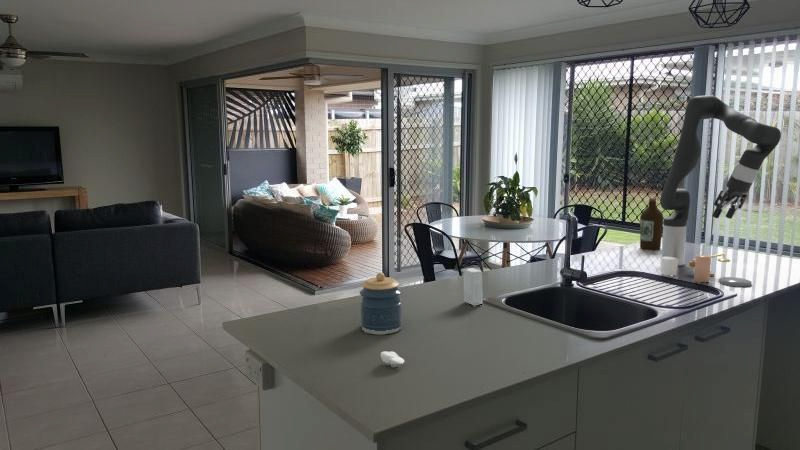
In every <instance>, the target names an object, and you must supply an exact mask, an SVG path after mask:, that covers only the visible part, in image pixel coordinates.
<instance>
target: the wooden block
mask: <svg viewBox="0 0 800 450" xmlns="http://www.w3.org/2000/svg"><path fill="white" fill-rule="evenodd" d="M711 256H712V255H708V254H707V255H705V254H697V255H695V258H694V259H695V261H694V262H695V269H694V274H693V275H694V277H693V281H694V282H695V281H697V282H696V283H698V282H709V283H710V280H711V276H710V271H711V268H712V267H711V265H712V258H711Z"/></svg>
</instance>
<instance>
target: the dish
mask: <svg viewBox="0 0 800 450" xmlns="http://www.w3.org/2000/svg"><path fill="white" fill-rule="evenodd" d="M719 282H720V283H719ZM718 283H719V284H721V283H722V284H721V285H724V284H725V285H724V286H728V285H729V286H728V287H734V286H738V287H737V288H740V287H741V288H745V287H746V288H748V287H751V286H752V281H751V280H749V279H746V278H741V277H731V276H728V277H727V276H725V277H723V276H722V277H719V278H718Z"/></svg>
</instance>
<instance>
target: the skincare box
mask: <svg viewBox="0 0 800 450" xmlns="http://www.w3.org/2000/svg"><path fill="white" fill-rule="evenodd" d="M462 272H463V273H462V275H463V276H462V277H463V301H465V302H467V303H469V304H472V305H478V304H482V303H483V304H484V302H483V301H484V300H483V299H484V298H483V297H484V296H483V295H484V294H483V271H482V270H479V269H477V268H473V267H470V268H465V269H463V270H462ZM465 302H464V303H465ZM467 303H466V304H467ZM469 304H468V305H469Z"/></svg>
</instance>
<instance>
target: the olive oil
mask: <svg viewBox="0 0 800 450" xmlns="http://www.w3.org/2000/svg"><path fill="white" fill-rule="evenodd" d="M639 218H640V219H639V221H640V222H639V226H640V227H639V228H640V229H639V230H640V231H639V234H640V235H639V236H640V238H639V242H640V243H639V248H640V249H642V250H647V251H657V250H660V249H661V248H662V237H663V221H664V215H663V212H662V211H661V210H660V209H659V208H658V207H657V198H649V199H648V206H647V207H646V208H645V209H644V210H643V211H642V212H641V215H640V217H639Z"/></svg>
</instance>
